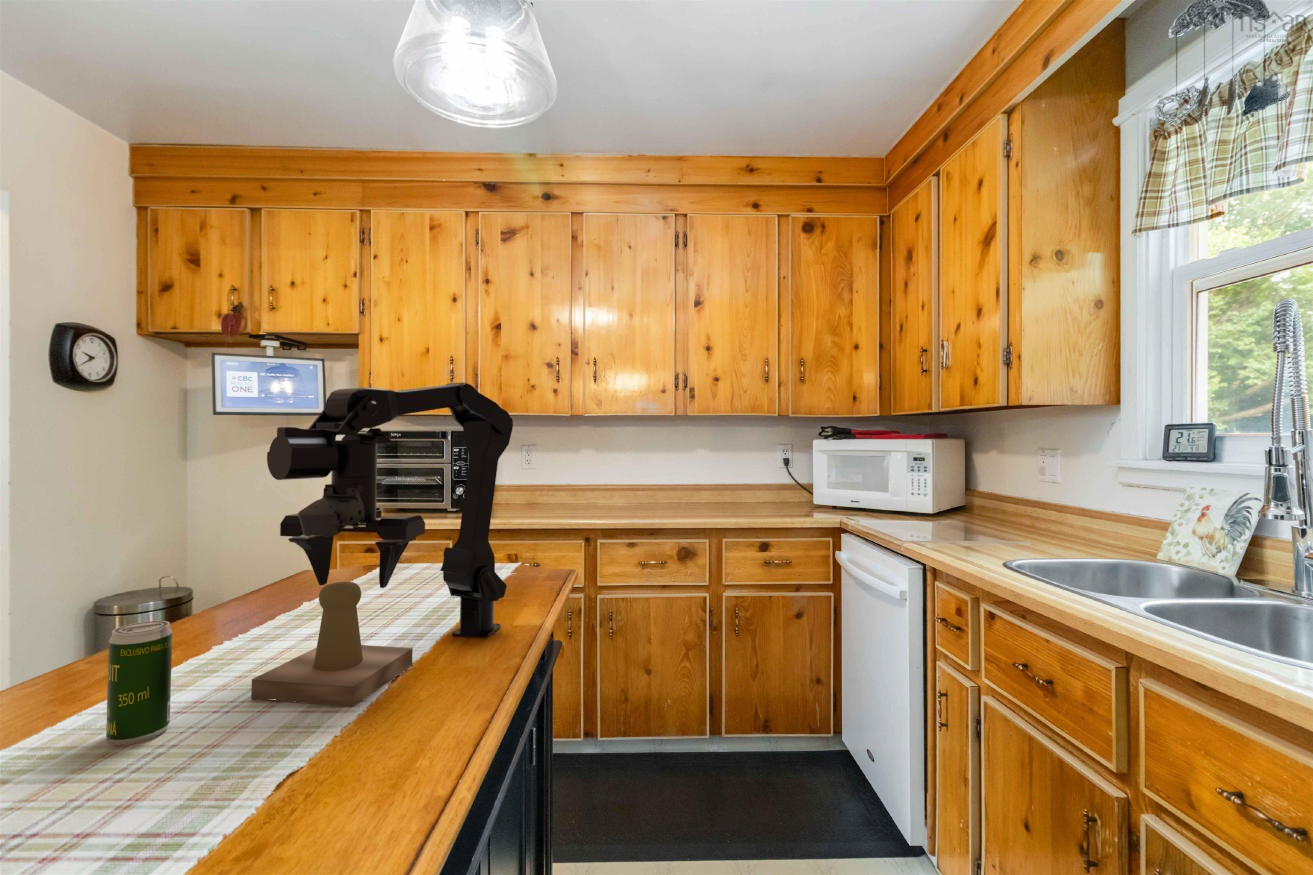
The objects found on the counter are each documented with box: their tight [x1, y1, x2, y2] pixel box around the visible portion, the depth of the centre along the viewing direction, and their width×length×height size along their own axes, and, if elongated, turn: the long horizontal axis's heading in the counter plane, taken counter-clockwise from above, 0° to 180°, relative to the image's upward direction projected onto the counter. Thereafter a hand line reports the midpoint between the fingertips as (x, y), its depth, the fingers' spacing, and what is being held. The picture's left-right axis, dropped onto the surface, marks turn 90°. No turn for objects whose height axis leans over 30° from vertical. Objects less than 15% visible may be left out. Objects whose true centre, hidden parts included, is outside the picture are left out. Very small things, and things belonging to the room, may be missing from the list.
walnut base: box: [250, 644, 414, 707], centre depth 81 cm, size 14×14×2 cm
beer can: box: [105, 620, 173, 746], centre depth 65 cm, size 5×5×12 cm
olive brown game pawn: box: [314, 581, 363, 671], centre depth 81 cm, size 6×6×11 cm
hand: (353, 586), depth 83 cm, fingers open, 9 cm apart
